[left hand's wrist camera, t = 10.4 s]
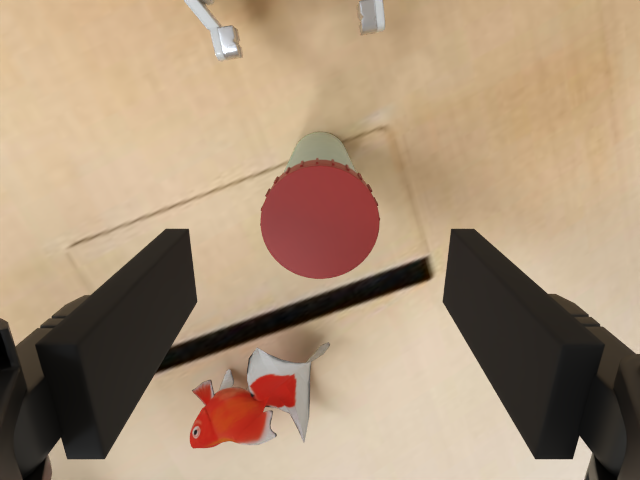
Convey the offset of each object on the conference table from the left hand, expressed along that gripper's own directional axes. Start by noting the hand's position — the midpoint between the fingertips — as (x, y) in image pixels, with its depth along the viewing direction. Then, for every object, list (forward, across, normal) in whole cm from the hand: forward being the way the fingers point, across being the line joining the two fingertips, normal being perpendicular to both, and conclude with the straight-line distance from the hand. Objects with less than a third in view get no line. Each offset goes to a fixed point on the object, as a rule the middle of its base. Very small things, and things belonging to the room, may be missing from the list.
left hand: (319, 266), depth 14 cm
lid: (+5, 0, 0) cm, 5 cm away
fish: (+23, -6, -22) cm, 32 cm away
